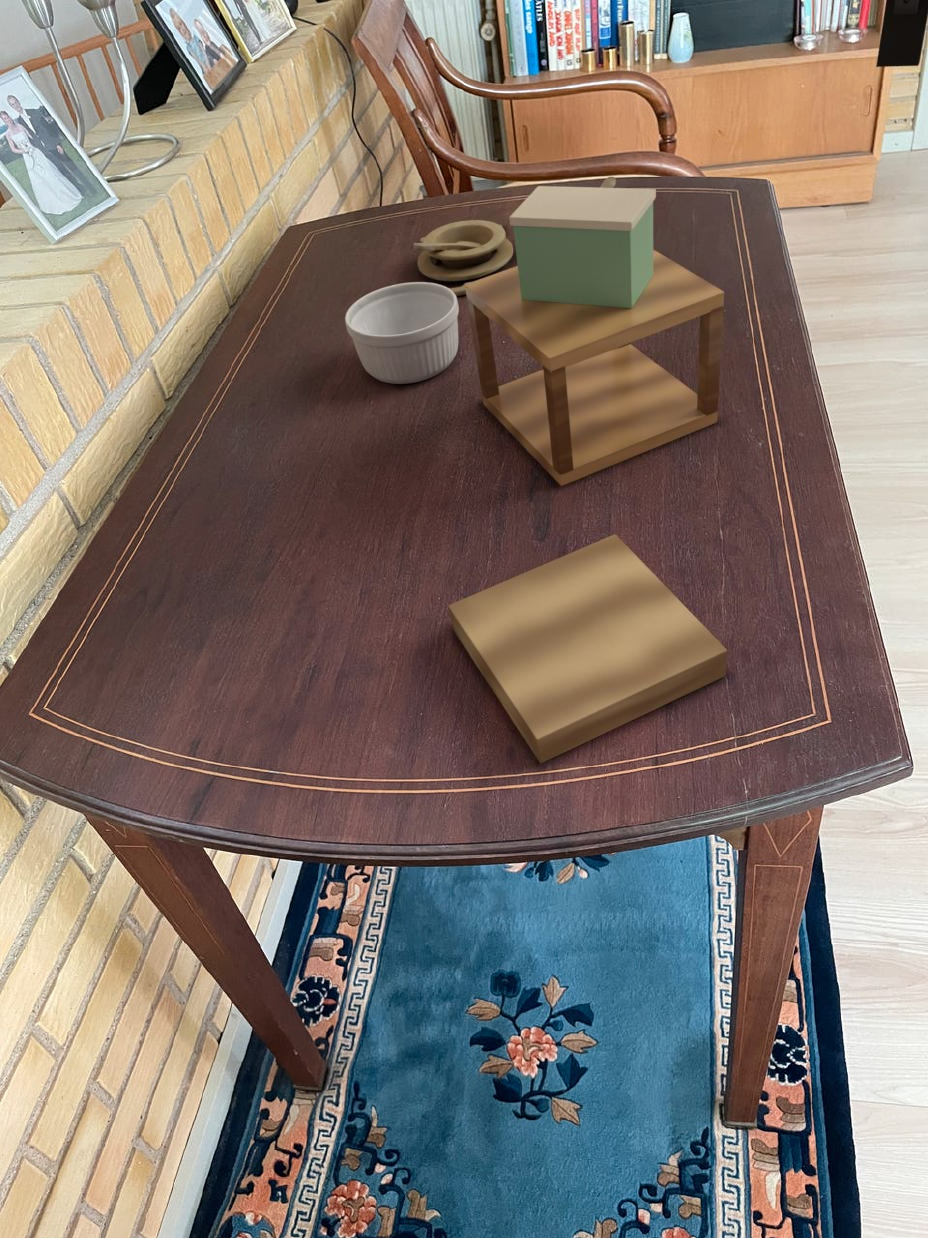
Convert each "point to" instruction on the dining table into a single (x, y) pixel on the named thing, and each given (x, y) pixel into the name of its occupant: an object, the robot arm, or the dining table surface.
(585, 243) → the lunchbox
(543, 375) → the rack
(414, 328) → the ramekin
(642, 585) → the wooden square board
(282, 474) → the dining table surface
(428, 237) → the tableware set
